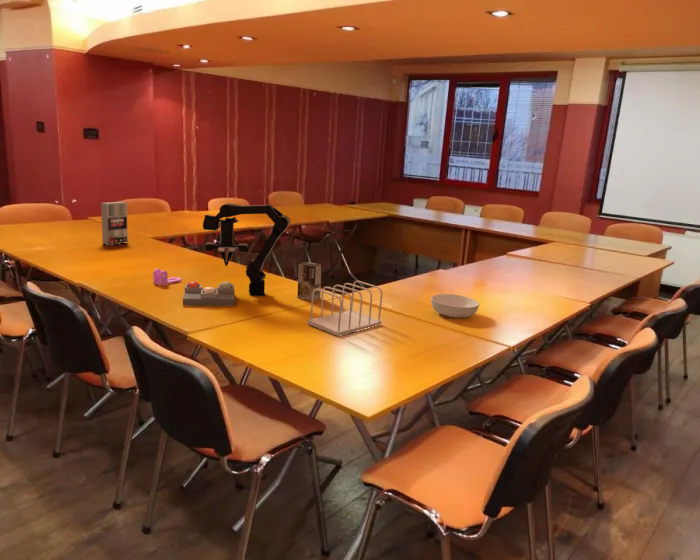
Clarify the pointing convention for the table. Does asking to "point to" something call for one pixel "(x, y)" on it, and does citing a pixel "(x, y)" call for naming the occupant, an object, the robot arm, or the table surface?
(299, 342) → the table surface
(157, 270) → the bracket
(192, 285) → the red button
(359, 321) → the file sorter
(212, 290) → the cream button
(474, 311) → the serving bowl
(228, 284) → the sage button
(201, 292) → the control panel
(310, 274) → the coffee box
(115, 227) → the cassette tape recorder
